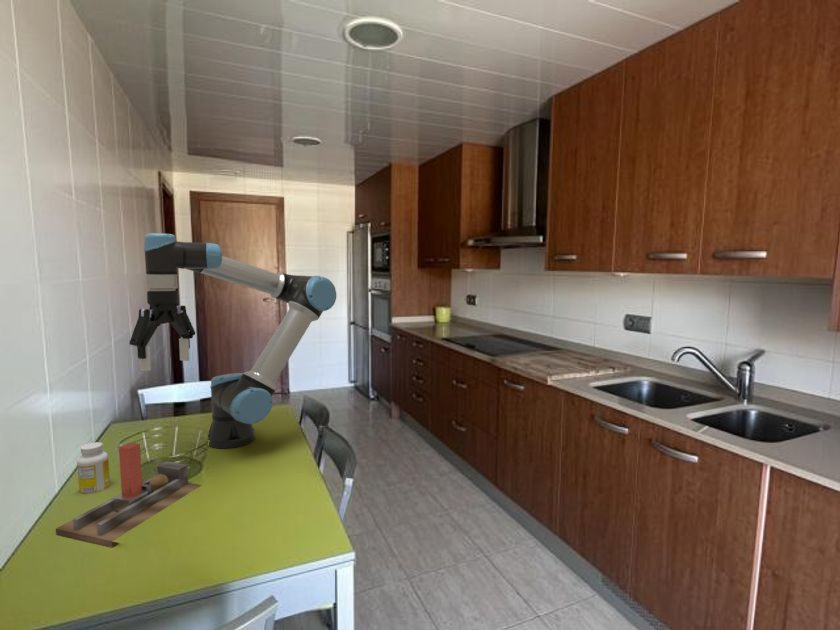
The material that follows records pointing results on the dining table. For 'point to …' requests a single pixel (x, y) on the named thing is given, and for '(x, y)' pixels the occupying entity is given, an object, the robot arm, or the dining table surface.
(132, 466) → the lever
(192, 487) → the base
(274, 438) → the dining table surface
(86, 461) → the supplement bottle
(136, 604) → the dining table surface
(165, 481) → the nut
